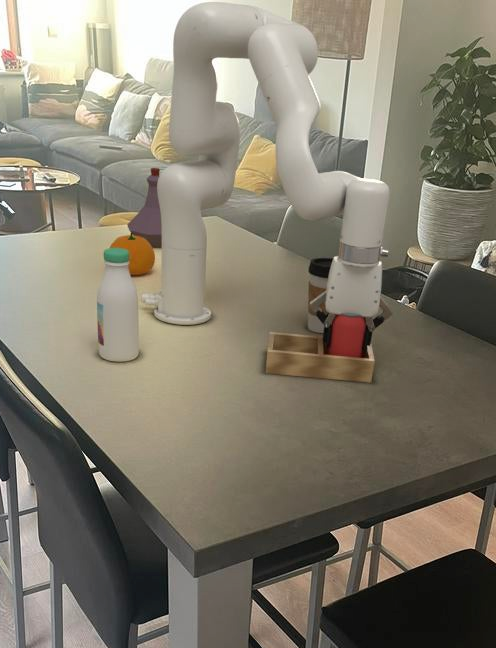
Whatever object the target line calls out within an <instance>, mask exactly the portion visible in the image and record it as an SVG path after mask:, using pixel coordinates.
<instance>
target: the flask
mask: <svg viewBox="0 0 496 648" xmlns="http://www.w3.org/2000/svg"><path fill="white" fill-rule="evenodd" d="M160 170H161V169H160V168H158V167H150V175H149V176H148V177H146V181H147V184H148V189H147V190H148V191H147V195H146V198H145V203H144V205H143V206H142V207H141V209H140V210H139V212H138V213H137V214H136V215H135V216H134V217H133V218H132V219H131V220H130V221H129V222H128V223H127V228H128V231H129V232H130V233H131V232H133V234H132V235H133V236H139V237H142V238H144V239H146V240H147V241H148V242H149V243H150V245H151V246H152V248H162V224H161V212H160V205H159V200H158V194H157V183H158V179H159V176H160Z"/></svg>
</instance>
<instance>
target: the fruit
mask: <svg viewBox="0 0 496 648" xmlns="http://www.w3.org/2000/svg"><path fill="white" fill-rule="evenodd" d="M109 248H122V249H126V250H128V251H129V264H128V269H129V273H130V276H141V275H145V274H147V273H149V272H150V271H151V270H152V269H153V267H154V265H155V262H156V254H155V251H154V247H152V246H151V245H150V243H149V242H148V241H147V240H146V239H144V238H142V237H139V236H133V232H130V234H129V235H128V234H127V235H122V236H118V237H117V238H116V239H115V240H114V241H113V242H111V244H110V246H109Z"/></svg>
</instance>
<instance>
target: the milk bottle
mask: <svg viewBox="0 0 496 648" xmlns="http://www.w3.org/2000/svg"><path fill="white" fill-rule="evenodd" d="M103 263H104V266H105V267H104V271H103V275H102V278H101V280H100V283H99V284H98V288H97V295H96V321H97V323H96V324H97V344H98V345H97V346H98V347H97V349H98V354H99V356H100V357H101V358H102V359H104V360H106V361H110V362H116V363H117V362H119V363H120V362H121V363H122V362H129V361H132V360H135V359H136V358H137V357H138V355H139V353H140V352H139V351H140V332H139V331H140V327H139V320H140V319H139V296H138V290H137V288H136V285H135V283H134V281H133V279H132V275H130V273H129V269H128V264H129V251H128V250H126V249H122V248H110V247H109V248H106V249H104V250H103Z"/></svg>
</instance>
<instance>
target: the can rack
mask: <svg viewBox="0 0 496 648" xmlns="http://www.w3.org/2000/svg"><path fill="white" fill-rule="evenodd" d="M322 340H323V336H320V335H319V336H318V335H309V334H307V335H306V334H299V333H298V334H297V333H286V332H274V331H269V332H268V341H267V351H266V362H265V374H271V375H281V376H292V377H303V378H315V379H323V380H324V379H326V380H335V381H345V382H347V381H348V382H358V383H359V382H360V383H369V384H371V383H372V379H373V373H374V369H375V362H376V361H375V355H374V350H373V345H372V343H371V344H370V346H367V350H366V351H363V350H362V355H361V358H356V357H345V356H334V355H328V348H329V347H328V348H326V344H325V342H323V341H322Z"/></svg>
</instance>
